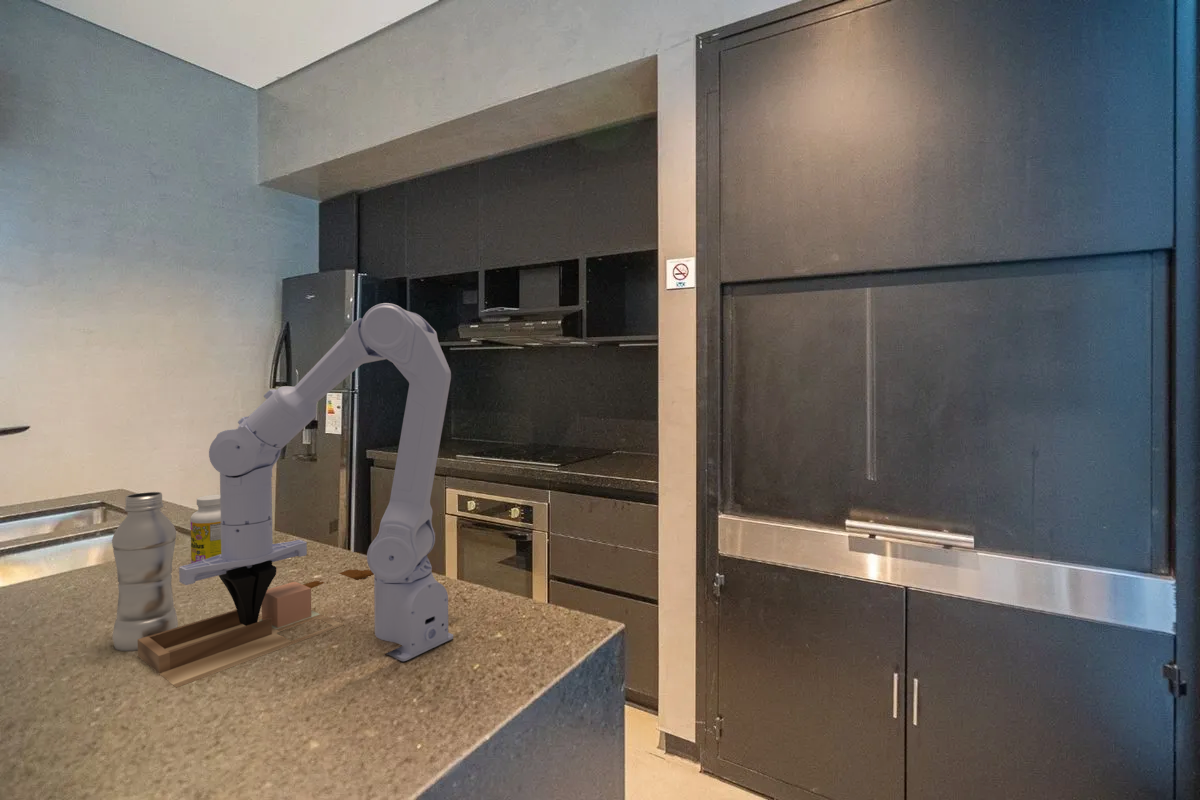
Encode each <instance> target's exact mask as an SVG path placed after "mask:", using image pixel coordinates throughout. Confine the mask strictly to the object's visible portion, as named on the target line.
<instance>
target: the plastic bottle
mask: <svg viewBox="0 0 1200 800" xmlns="http://www.w3.org/2000/svg"><path fill="white" fill-rule="evenodd" d="M162 508H164V502H163V493H162V492H161V491H147V492H146V491H144V492H136V493H130V494H127V495H125V506H124V512H126V513H127V515H126V517H125V518H124V519H123V521H121V523H120V524H119V526H118V527H117V528H116V530H115V531H114V533H113V535H112V539H111V547H112V551H113V556H114V561H115V567H116V573H117V575H116V576H117V582H118V585H117V587H118V588H117V589H118V595H117V596H118V599H117V608H116V609H117V610H116V619H115V621H114V625H113V631H112V638H111V639H112V642H113V645H114V648H115V650H117V651H120V652H133V651H138V639H140V638H144V637H147V636H150V635H154V634H157V633H160V632H164V631H167V630H170V629H174V628H177V627H179V626H178V625H179V621H178V615H177V611H176V608H175V604H174V598H173V596H174V595H173V587H172V586H173V585H172V572H173V559H174V558H173V557H174V553H175V552H174V551H175V547H176V539H177V529H176V527H175V524H173V522H172V521H171V520H170V519H169V518H168V517H167V515H165V514H164V513H163V512H162V511H161V509H162Z"/></svg>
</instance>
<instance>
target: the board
mask: <svg viewBox="0 0 1200 800" xmlns="http://www.w3.org/2000/svg"><path fill="white" fill-rule="evenodd" d="M314 620H320V621H321V622H324V623H325V624H328V625H330V626H328V627H325V628H322V629H320V630H318V631H315V632H312V633H310V634H306V635H304V636H301V637H298V638H296V639H293V640H290V639H288V638H286V637H284V636H283V635H281V634H278V633H281V632H282V631H286V630H289V629H291V628H294V627H298V626H300V625H304V624H306V623H308V622H312V621H314ZM343 626H344V624H343V623H341V622H339V621H336V620H334V619H332V618H331V617H330V618H329V617H327V616H325V615H323V614H321V613H318V612H316V611H314V610H312V609H311V617H308V618H305V619H302V620H299V621H296V622H294V623H291V624H288V625H285V626H282V627H279V628H277V627H275V626H273V625H272V619H270V618H269V619H266V620H262V615H261V616H259V617H258V622H256V623H253V624H250V625H247V626H245V625H243V624H242V623H240V621H239V616H238V613H237V609H234V610H230V611H228V612H224V613H221V614H218V615H214V616H210V617H208V618H204V619H200V620H197V621H194V622H191V623H187V624H184V625H181V626H177V628H174V629H170V630H167V631H164V632H160V633H157V634H154V635H150V636H147V637H144V638H140V639H138V650H137V657H138V658H140V659H141V660H142V661H143V662H144V663H145V664H147V665H148V666H149V667H150V668H151V669H153V670H154V671H155V672H156V673H158V674H159V675H160V676H161V677H162V678H164V679H165V680H166V681H167V682H169V684H170V685H172V686H173V687H175V688H176V689H178V688H180V687H183V686H186V685H189V684H190V683H193V682H195V681H199V680H202V679H204V678H207V677H210V676H213V675H215V674H218V673H220V672H223V671H227V670H228V669H230V668H234V667H236V666H239V665H242V664H244V663H247V662H251V661H252V660H255V659H258V658H260V657H263V656H266V655H268V654H271V653H273V652H276V651H279V650H282V649H284V648H288V647H289V646H293V645H295V644H298V643H300V642H303V641H306V640H308V639H311V638H314V637H317V636H319V635H322V634H324V633H327V632H330V631H333V630H335V629H338V628H340V627H343Z"/></svg>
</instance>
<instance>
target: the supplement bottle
mask: <svg viewBox="0 0 1200 800" xmlns="http://www.w3.org/2000/svg"><path fill="white" fill-rule="evenodd" d="M196 506H197V507H198V508H197V511H195V512H193V513H192V514H191V516H190V562H191V563H190V564H192V563H195V562H198V561H201V560H205V559H208V558H211V557H214V556H217V555H220V554H221V507H220V494H209V495H203V496H199V497H197V498H196Z"/></svg>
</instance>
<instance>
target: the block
mask: <svg viewBox="0 0 1200 800" xmlns="http://www.w3.org/2000/svg"><path fill="white" fill-rule="evenodd" d="M311 610H312V588H309V587H307V586H304V585H303V584H302V583H299V582H298V581H297V582H296V581H292V582H288V583H285V584H281V585H278V586H274V587H271V588H268V589H267V592H266V594H265V596H264V599H263V602H262V605H261V616H262V620H266V619H269V618H270V619H272V625H273V626H275V627H277V628H279V627H282V626H285V625H288V624H291V623H294V622H296V621H299V620H302V619H305V618H308V617H311Z"/></svg>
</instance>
